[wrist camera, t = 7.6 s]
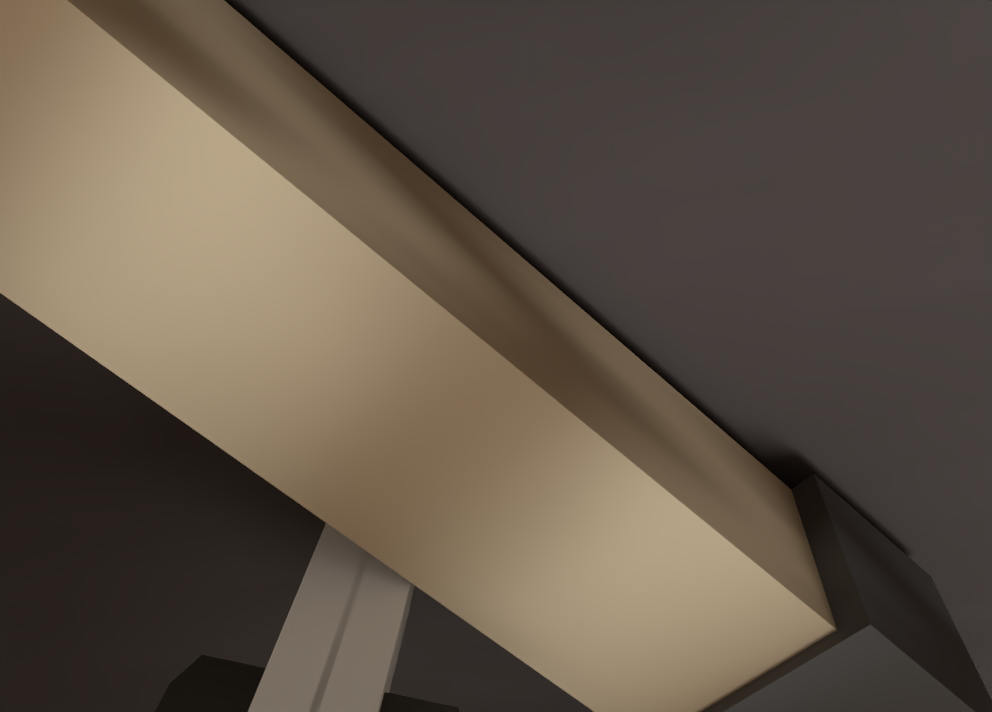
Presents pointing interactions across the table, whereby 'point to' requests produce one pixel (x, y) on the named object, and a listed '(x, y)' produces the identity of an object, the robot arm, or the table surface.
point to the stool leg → (428, 380)
